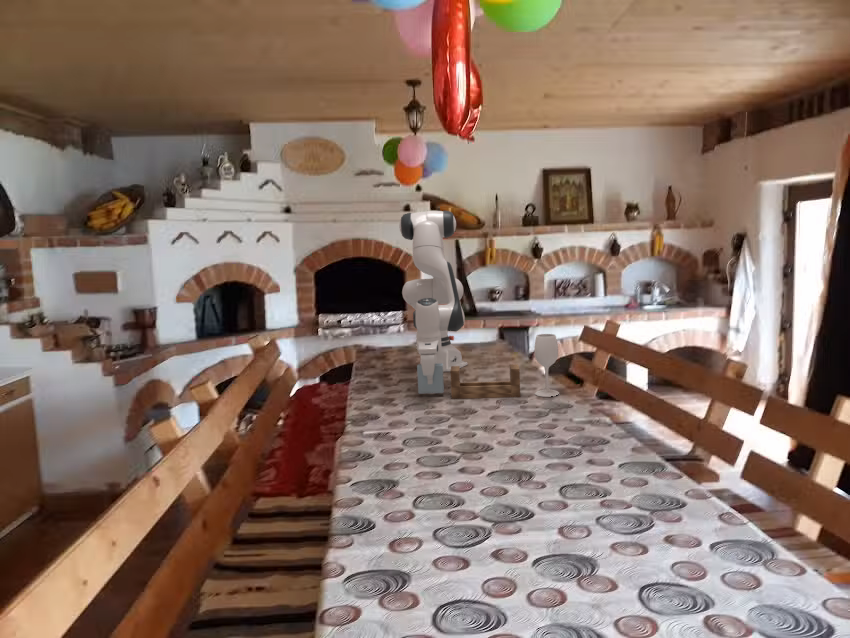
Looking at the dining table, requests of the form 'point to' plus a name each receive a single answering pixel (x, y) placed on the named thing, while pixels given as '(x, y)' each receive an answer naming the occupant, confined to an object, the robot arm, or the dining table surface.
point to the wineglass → (546, 358)
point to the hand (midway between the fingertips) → (430, 382)
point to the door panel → (437, 380)
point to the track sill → (485, 386)
